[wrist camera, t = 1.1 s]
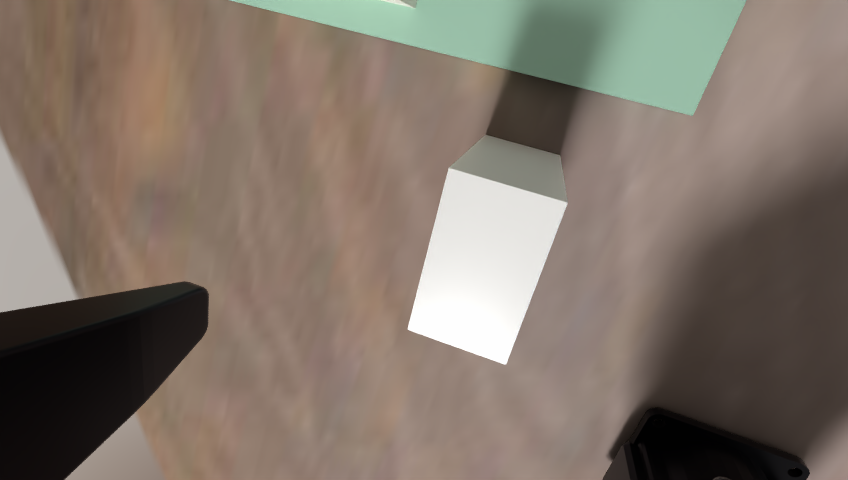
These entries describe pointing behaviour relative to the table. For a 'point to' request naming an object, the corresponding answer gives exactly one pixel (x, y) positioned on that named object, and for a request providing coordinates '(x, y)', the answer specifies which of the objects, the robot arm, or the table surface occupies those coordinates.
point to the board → (556, 38)
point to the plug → (489, 246)
